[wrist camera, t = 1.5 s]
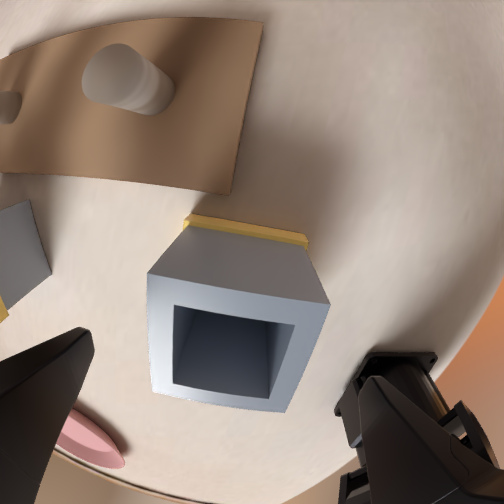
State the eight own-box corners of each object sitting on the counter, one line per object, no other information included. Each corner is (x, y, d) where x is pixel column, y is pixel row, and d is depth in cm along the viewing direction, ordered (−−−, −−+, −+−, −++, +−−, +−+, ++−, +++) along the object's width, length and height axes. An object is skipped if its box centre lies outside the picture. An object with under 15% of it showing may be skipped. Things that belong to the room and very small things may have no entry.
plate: (19, 362, 18) (10, 374, 16) (136, 432, 20) (131, 448, 18) (35, 417, 22) (30, 426, 21) (122, 466, 25) (119, 477, 23)
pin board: (262, 31, 9) (266, -28, 5) (230, 192, 12) (214, 218, 7) (4, 63, 8) (-43, 57, 4) (-12, 170, 11) (-62, 184, 6)
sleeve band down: (304, 234, 13) (339, 299, 7) (279, 327, 15) (288, 415, 9) (190, 213, 12) (140, 264, 7) (181, 310, 14) (147, 393, 9)
